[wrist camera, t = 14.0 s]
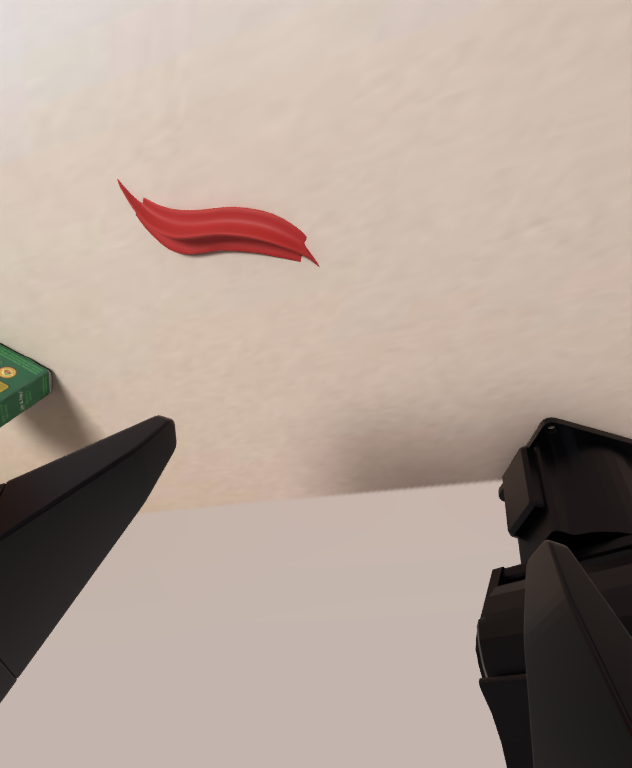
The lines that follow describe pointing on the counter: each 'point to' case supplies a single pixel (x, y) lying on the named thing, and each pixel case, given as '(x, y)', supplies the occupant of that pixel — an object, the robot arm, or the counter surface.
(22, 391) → the coffee box
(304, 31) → the counter surface
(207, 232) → the cayenne pepper
